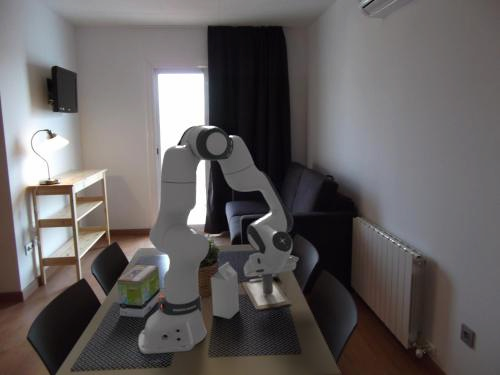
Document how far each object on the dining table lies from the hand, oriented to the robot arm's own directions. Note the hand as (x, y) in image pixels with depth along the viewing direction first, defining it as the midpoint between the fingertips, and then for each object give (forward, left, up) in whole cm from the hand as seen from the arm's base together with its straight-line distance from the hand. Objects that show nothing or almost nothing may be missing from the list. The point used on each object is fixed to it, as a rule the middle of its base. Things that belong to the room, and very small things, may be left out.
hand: (266, 274), depth 153 cm
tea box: (-50, +7, -10) cm, 51 cm away
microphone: (0, -1, -7) cm, 7 cm away
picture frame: (+5, +16, -9) cm, 19 cm away
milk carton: (-19, -8, -10) cm, 22 cm away
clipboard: (-1, +2, -9) cm, 10 cm away
